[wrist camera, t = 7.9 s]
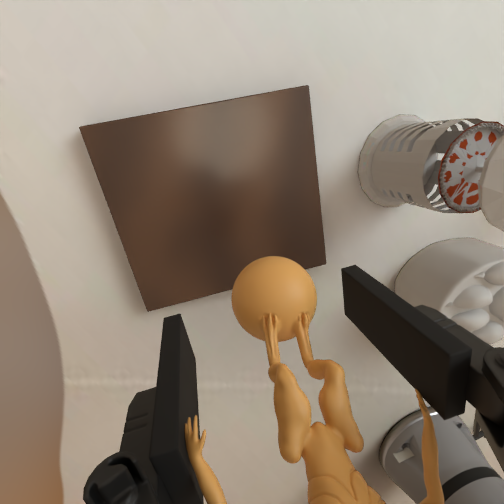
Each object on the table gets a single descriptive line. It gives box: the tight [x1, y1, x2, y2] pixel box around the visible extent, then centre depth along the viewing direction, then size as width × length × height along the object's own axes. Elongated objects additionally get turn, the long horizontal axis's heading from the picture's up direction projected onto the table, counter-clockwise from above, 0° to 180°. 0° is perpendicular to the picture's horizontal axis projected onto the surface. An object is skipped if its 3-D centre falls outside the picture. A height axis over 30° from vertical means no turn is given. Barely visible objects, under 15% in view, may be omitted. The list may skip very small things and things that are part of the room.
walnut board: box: [79, 85, 326, 312], centre depth 29 cm, size 20×18×2 cm
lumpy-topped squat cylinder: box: [395, 238, 504, 344], centre depth 35 cm, size 10×13×9 cm
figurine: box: [185, 256, 444, 504], centre depth 11 cm, size 8×6×12 cm
